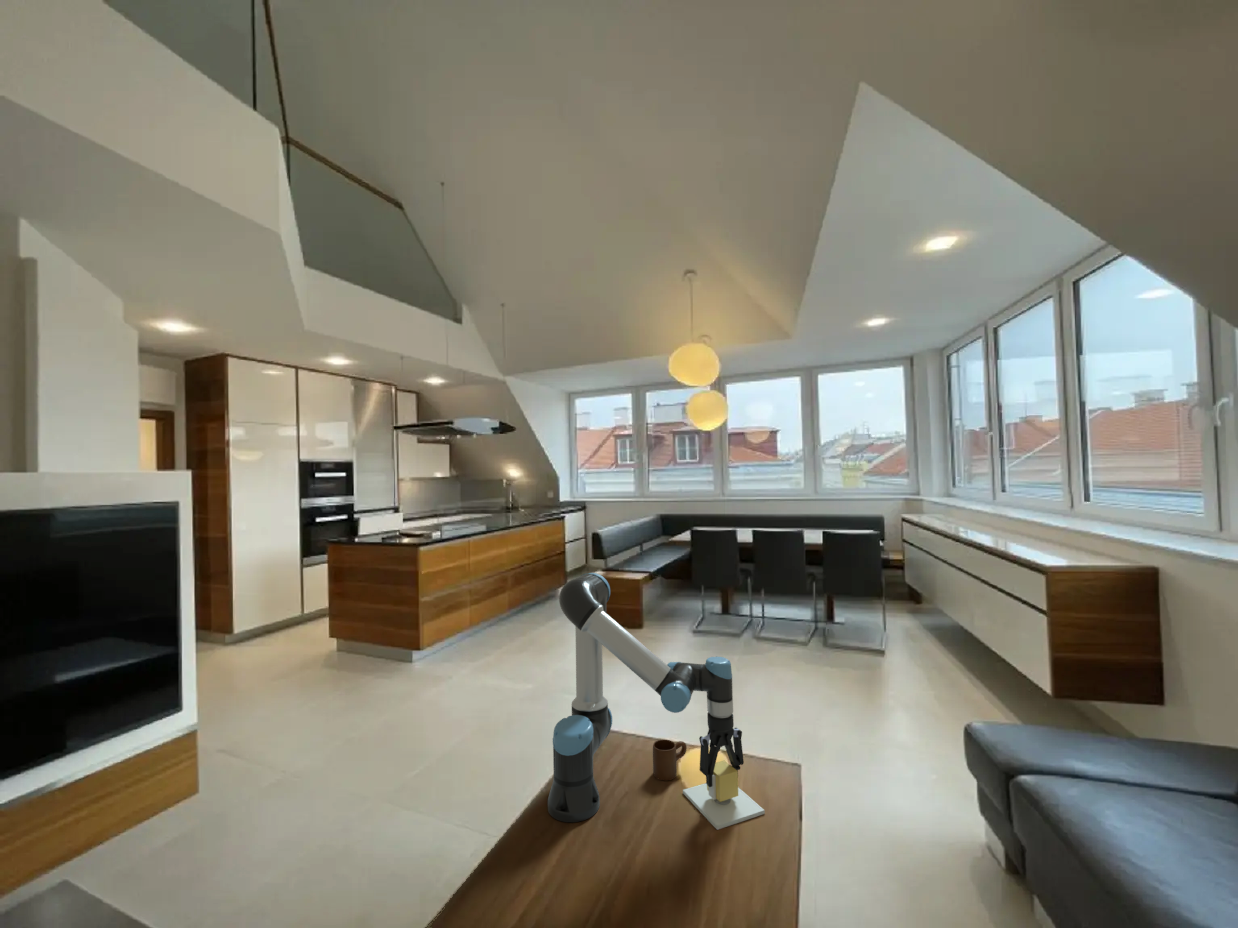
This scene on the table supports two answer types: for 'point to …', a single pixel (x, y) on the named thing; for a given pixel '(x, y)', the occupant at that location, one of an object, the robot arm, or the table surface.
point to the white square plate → (723, 807)
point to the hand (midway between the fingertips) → (722, 793)
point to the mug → (666, 758)
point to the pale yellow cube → (725, 781)
